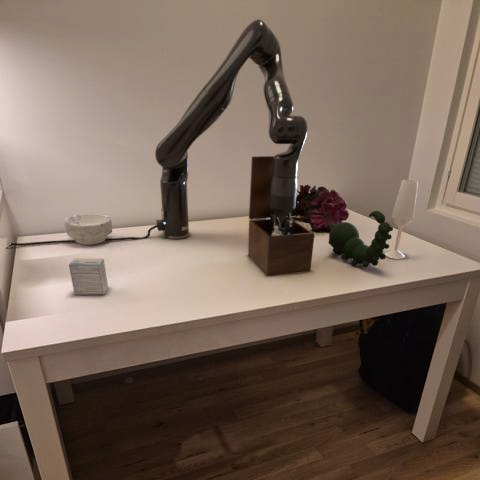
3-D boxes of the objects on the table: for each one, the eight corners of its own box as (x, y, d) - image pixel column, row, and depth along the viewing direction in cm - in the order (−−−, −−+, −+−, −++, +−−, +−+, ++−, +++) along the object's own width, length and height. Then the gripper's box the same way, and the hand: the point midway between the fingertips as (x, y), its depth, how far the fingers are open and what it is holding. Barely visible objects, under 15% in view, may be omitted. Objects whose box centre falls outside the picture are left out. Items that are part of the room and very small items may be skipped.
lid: (297, 155, 125) (289, 152, 130) (252, 157, 122) (246, 153, 126) (290, 216, 135) (284, 211, 140) (249, 219, 131) (244, 213, 136)
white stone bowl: (116, 245, 144) (113, 222, 140) (69, 250, 139) (65, 226, 135) (111, 232, 156) (108, 211, 153) (67, 236, 151) (63, 214, 148)
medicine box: (108, 288, 113) (104, 257, 109) (104, 295, 109) (100, 264, 105) (79, 288, 113) (73, 257, 109) (74, 295, 109) (68, 264, 105)
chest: (310, 271, 127) (314, 233, 121) (266, 276, 123) (268, 236, 117) (287, 252, 141) (290, 217, 136) (248, 255, 137) (249, 220, 132)
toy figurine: (387, 275, 129) (336, 244, 147) (404, 216, 119) (347, 190, 137) (364, 280, 125) (314, 248, 143) (380, 219, 115) (324, 193, 133)
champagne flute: (387, 250, 145) (401, 178, 133) (407, 254, 142) (423, 180, 130) (382, 256, 140) (396, 181, 128) (402, 260, 137) (419, 184, 125)
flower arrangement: (280, 215, 183) (283, 179, 176) (319, 211, 190) (323, 177, 182) (317, 235, 158) (322, 195, 151) (361, 231, 164) (367, 192, 157)
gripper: (306, 197, 116) (300, 254, 124) (285, 186, 128) (282, 240, 136) (281, 198, 114) (277, 257, 122) (262, 187, 126) (260, 241, 134)
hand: (279, 247), depth 129 cm, fingers closed on supplement bottle, 5 cm apart
